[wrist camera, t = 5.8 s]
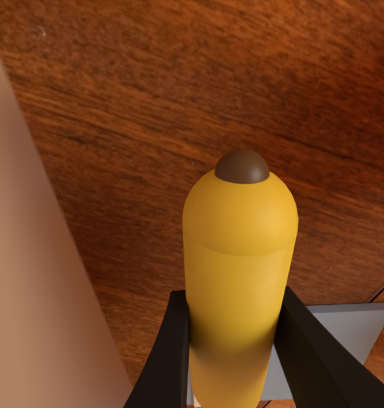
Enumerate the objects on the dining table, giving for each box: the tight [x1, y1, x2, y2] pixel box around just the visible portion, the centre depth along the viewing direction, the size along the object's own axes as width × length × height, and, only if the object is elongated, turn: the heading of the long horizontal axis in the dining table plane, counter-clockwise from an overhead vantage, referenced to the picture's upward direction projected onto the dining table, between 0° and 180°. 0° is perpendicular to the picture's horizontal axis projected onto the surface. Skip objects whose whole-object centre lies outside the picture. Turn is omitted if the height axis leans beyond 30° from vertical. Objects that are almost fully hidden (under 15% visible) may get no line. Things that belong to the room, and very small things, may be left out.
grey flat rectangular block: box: [187, 302, 384, 407], centre depth 24 cm, size 18×14×1 cm
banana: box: [182, 149, 298, 408], centre depth 10 cm, size 14×4×4 cm, turn 1°
